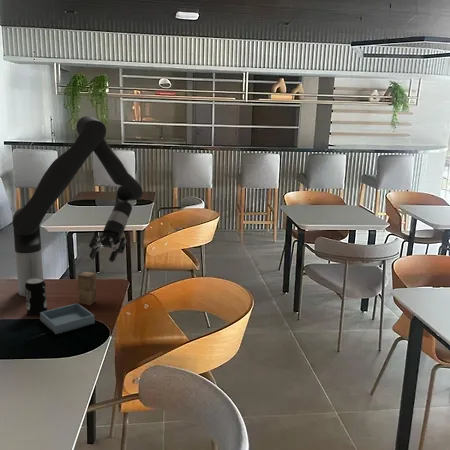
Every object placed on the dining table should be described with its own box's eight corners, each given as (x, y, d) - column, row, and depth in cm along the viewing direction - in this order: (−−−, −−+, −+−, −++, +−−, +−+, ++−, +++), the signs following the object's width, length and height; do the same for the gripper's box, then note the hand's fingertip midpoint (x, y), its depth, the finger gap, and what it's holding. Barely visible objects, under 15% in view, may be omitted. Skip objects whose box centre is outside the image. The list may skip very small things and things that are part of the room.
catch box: (40, 320, 157) (39, 312, 156) (77, 310, 165) (77, 302, 165) (56, 334, 147) (55, 325, 146) (94, 323, 156) (94, 315, 155)
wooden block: (86, 299, 176) (85, 271, 174) (96, 300, 175) (95, 272, 172) (79, 303, 172) (78, 275, 170) (89, 305, 171) (88, 276, 168)
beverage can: (42, 316, 160) (40, 283, 157) (23, 316, 160) (21, 283, 157) (50, 309, 166) (48, 277, 164) (32, 308, 166) (29, 276, 164)
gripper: (96, 218, 186) (80, 253, 178) (128, 221, 182) (113, 257, 174) (104, 228, 192) (89, 262, 184) (135, 231, 188) (121, 266, 180)
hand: (101, 259), depth 179 cm, fingers open, 8 cm apart
